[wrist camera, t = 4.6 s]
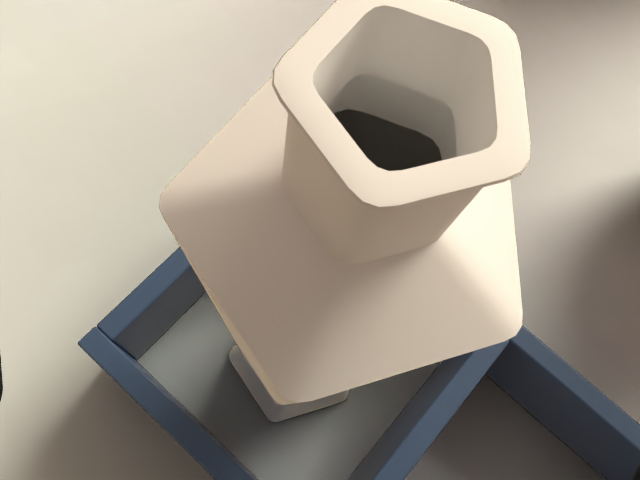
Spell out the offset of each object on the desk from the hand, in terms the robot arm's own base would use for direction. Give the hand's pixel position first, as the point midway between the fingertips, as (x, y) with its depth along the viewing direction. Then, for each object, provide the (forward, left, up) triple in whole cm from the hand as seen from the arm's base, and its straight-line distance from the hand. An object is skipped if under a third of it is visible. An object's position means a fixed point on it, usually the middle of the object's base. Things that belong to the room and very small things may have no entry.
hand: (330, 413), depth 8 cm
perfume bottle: (+2, +1, -11) cm, 11 cm away
